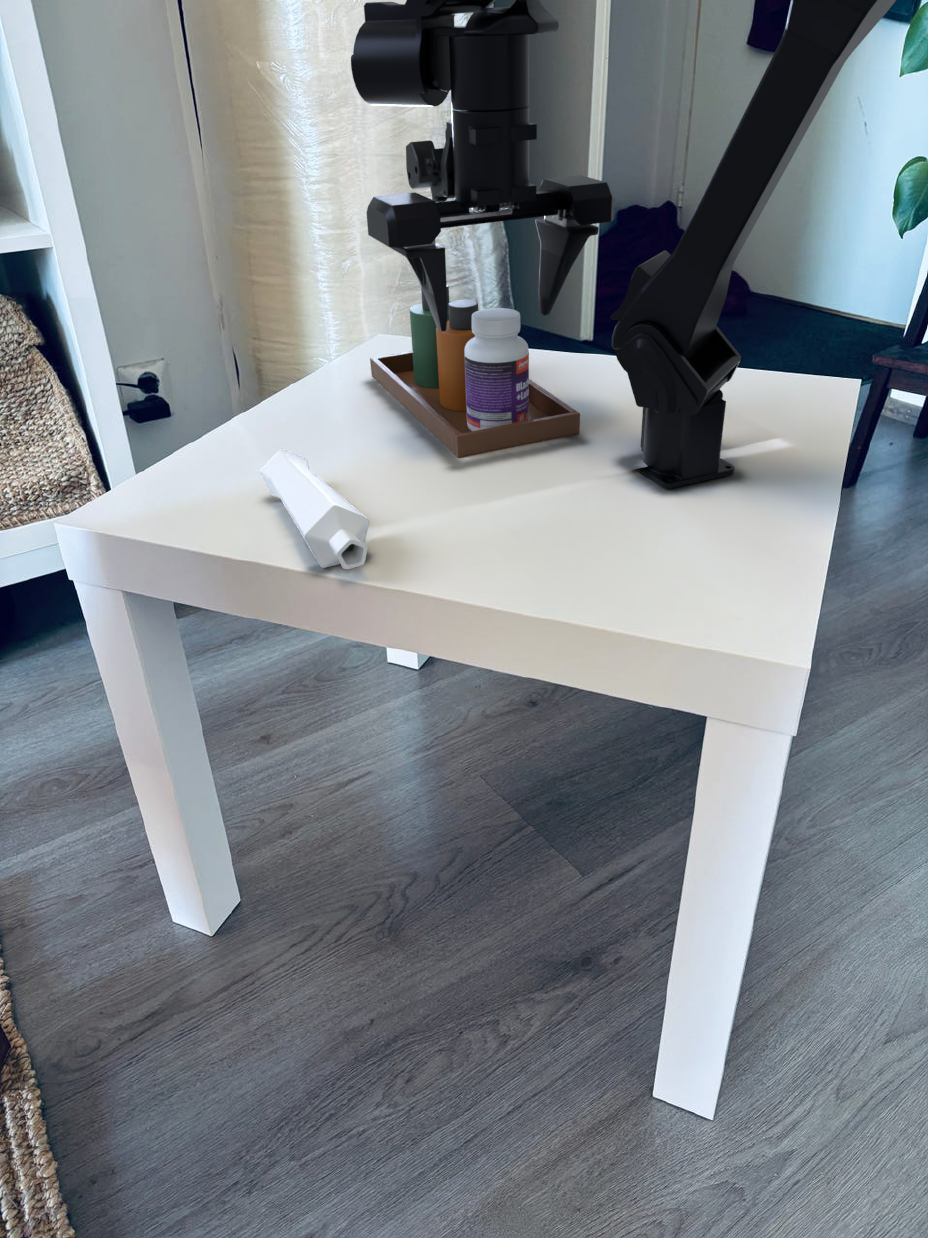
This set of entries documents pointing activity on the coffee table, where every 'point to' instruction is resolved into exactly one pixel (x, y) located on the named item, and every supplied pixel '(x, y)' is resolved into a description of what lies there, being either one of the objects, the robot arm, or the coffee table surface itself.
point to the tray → (451, 426)
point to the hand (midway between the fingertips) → (493, 322)
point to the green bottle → (425, 344)
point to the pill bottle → (496, 370)
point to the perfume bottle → (317, 511)
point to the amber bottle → (454, 354)
